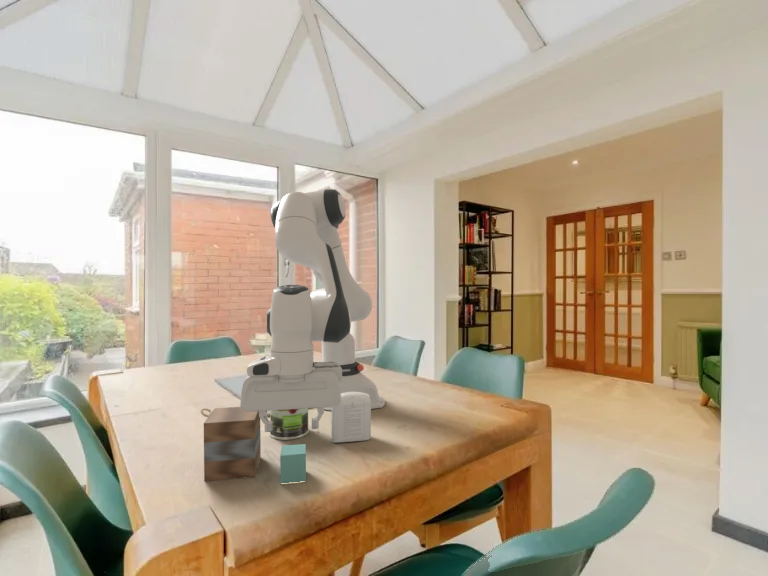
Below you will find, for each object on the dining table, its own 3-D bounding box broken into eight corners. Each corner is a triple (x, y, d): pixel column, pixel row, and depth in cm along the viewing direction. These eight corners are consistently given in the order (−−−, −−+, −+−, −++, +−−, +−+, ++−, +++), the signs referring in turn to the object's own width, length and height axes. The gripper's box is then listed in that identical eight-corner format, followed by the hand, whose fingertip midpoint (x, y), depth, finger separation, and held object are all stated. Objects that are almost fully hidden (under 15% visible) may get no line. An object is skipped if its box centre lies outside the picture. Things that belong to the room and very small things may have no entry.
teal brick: (305, 471, 87) (305, 443, 87) (305, 482, 82) (305, 453, 82) (282, 473, 86) (281, 445, 86) (280, 485, 81) (280, 455, 81)
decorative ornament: (224, 431, 110) (224, 412, 110) (198, 429, 112) (198, 410, 112) (233, 426, 114) (233, 408, 114) (208, 424, 116) (208, 405, 116)
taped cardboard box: (260, 456, 94) (260, 405, 94) (255, 476, 84) (254, 419, 84) (215, 460, 92) (214, 408, 92) (204, 481, 82) (203, 423, 82)
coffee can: (312, 436, 106) (312, 383, 106) (272, 443, 102) (272, 387, 102) (304, 424, 116) (304, 375, 116) (267, 429, 112) (267, 379, 111)
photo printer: (369, 434, 107) (369, 388, 107) (372, 441, 103) (372, 393, 103) (330, 438, 105) (330, 391, 105) (332, 444, 101) (332, 395, 101)
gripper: (340, 358, 88) (341, 421, 88) (243, 362, 85) (244, 427, 85) (343, 364, 82) (343, 431, 82) (238, 368, 78) (238, 438, 79)
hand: (292, 429), depth 83 cm, fingers open, 8 cm apart
